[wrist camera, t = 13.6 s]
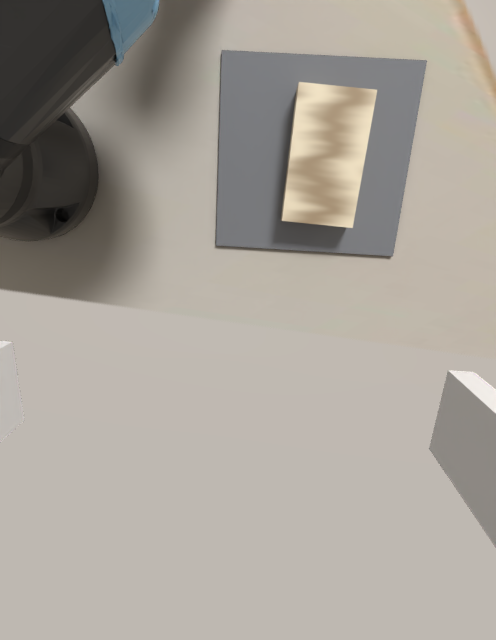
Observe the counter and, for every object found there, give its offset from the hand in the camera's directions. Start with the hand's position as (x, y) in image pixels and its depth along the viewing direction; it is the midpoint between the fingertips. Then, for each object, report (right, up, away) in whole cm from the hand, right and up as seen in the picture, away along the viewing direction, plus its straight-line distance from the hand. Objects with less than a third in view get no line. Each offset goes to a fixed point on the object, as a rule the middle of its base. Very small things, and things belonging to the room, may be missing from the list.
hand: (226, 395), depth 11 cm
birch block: (+8, +12, +26) cm, 30 cm away
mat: (+7, +18, +26) cm, 33 cm away
